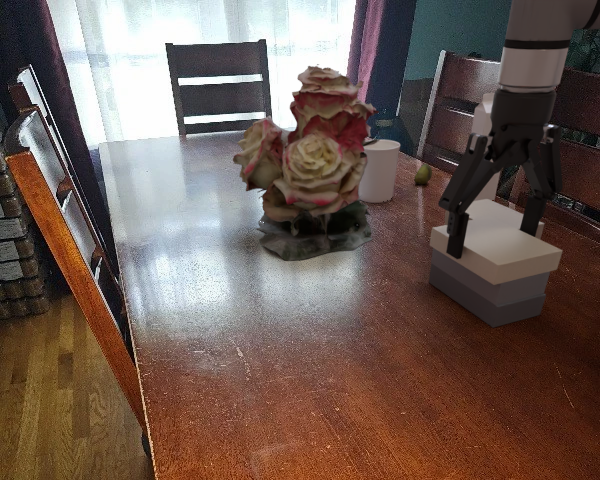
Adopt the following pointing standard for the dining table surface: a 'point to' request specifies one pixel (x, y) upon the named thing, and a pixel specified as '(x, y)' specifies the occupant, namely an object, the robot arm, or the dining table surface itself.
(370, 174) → the white cup
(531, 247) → the cream book
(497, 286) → the grey stack
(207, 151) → the dining table surface
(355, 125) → the rose bouquet
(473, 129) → the milk
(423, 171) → the lime
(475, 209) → the cream stack
